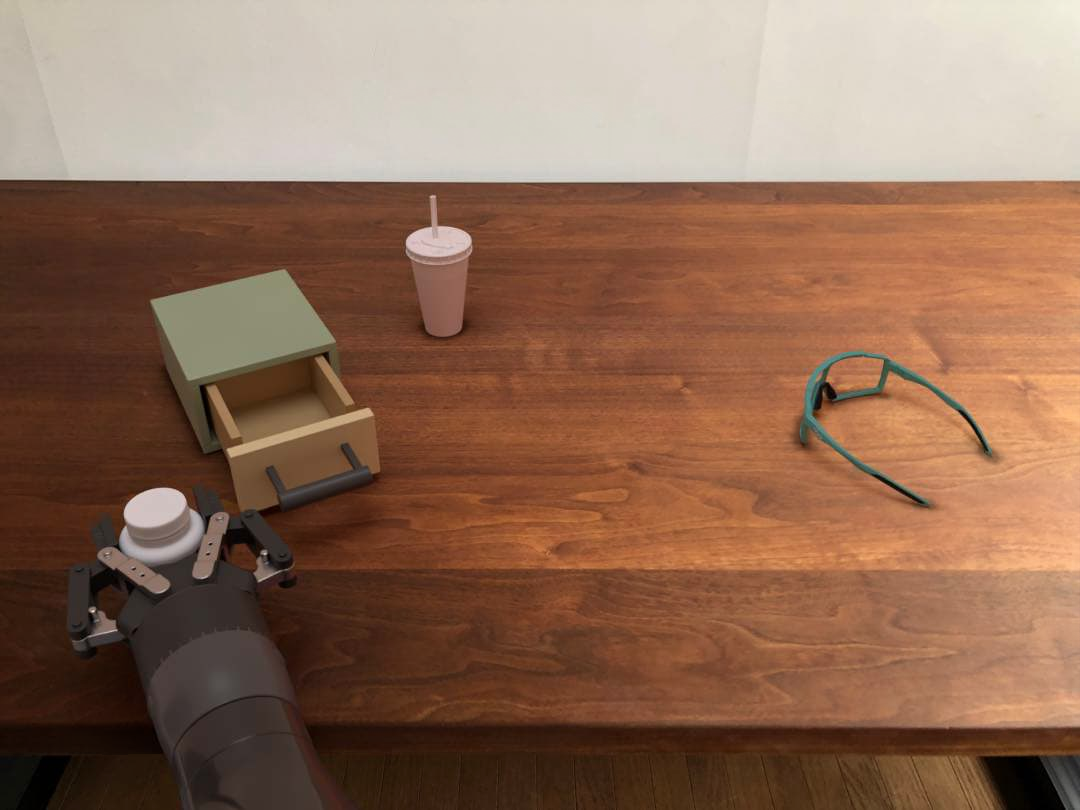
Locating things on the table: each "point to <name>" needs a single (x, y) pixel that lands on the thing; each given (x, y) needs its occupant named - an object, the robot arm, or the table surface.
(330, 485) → the drawer
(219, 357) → the cabinet
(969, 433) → the table surface
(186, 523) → the supplement bottle
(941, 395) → the sunglasses
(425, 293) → the smoothie
